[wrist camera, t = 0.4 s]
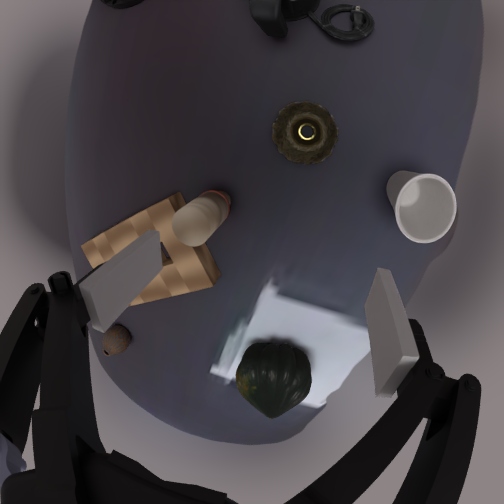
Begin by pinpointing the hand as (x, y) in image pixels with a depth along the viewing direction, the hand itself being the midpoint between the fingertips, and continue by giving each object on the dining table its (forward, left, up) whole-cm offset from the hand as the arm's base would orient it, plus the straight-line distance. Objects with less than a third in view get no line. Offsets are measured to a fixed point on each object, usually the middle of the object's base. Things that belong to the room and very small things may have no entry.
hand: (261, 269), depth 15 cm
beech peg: (-1, -12, -26) cm, 28 cm away
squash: (+33, -15, -26) cm, 44 cm away
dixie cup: (+6, +15, -26) cm, 30 cm away
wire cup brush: (-6, +4, -26) cm, 27 cm away
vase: (+20, -54, -26) cm, 63 cm away
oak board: (+3, -31, -26) cm, 40 cm away
